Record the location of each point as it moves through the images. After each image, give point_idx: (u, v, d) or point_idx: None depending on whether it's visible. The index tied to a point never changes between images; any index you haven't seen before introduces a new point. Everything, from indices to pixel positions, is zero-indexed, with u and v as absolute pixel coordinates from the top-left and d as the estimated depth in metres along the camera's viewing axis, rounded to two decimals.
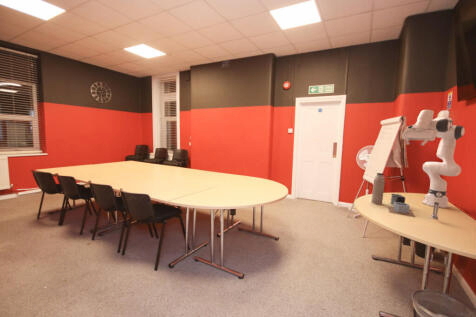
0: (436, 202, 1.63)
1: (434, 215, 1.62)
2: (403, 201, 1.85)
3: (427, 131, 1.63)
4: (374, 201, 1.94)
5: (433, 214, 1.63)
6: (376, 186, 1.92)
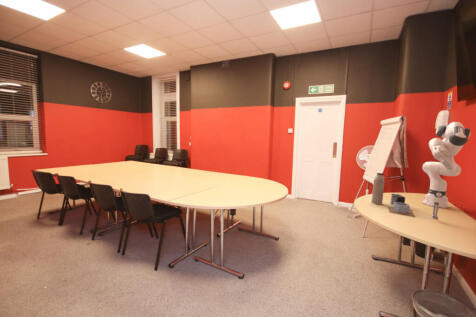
0: (436, 202, 1.63)
1: (434, 215, 1.62)
2: (403, 201, 1.85)
3: None
4: (374, 201, 1.94)
5: (433, 214, 1.63)
6: (376, 186, 1.92)
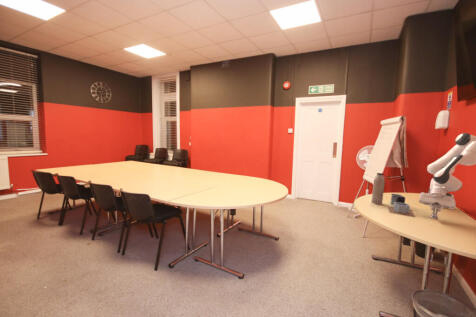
0: (436, 202, 1.63)
1: (434, 215, 1.62)
2: (403, 201, 1.85)
3: None
4: (374, 201, 1.94)
5: (433, 214, 1.63)
6: (376, 186, 1.92)
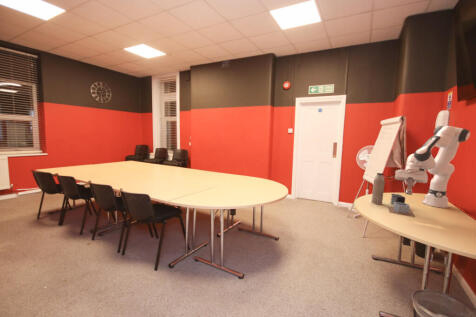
0: (410, 177, 1.71)
1: (408, 189, 1.70)
2: (403, 201, 1.85)
3: None
4: (374, 201, 1.94)
5: (407, 188, 1.70)
6: (376, 186, 1.92)
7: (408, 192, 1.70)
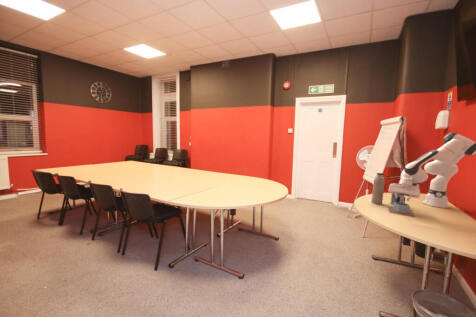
0: None
1: None
2: None
3: None
4: (374, 201, 1.94)
5: (399, 204, 1.75)
6: (376, 186, 1.92)
7: None
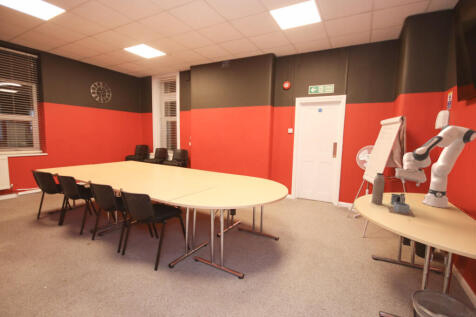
0: None
1: None
2: None
3: None
4: (374, 201, 1.94)
5: None
6: (376, 186, 1.92)
7: None
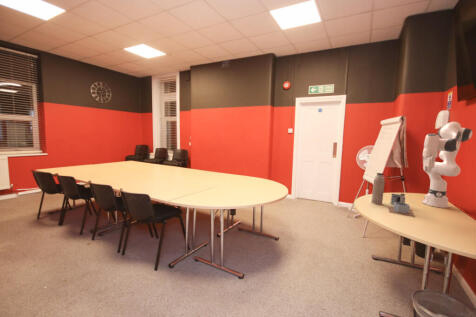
0: None
1: None
2: None
3: (428, 159, 1.70)
4: (374, 201, 1.94)
5: None
6: (376, 186, 1.92)
7: None
